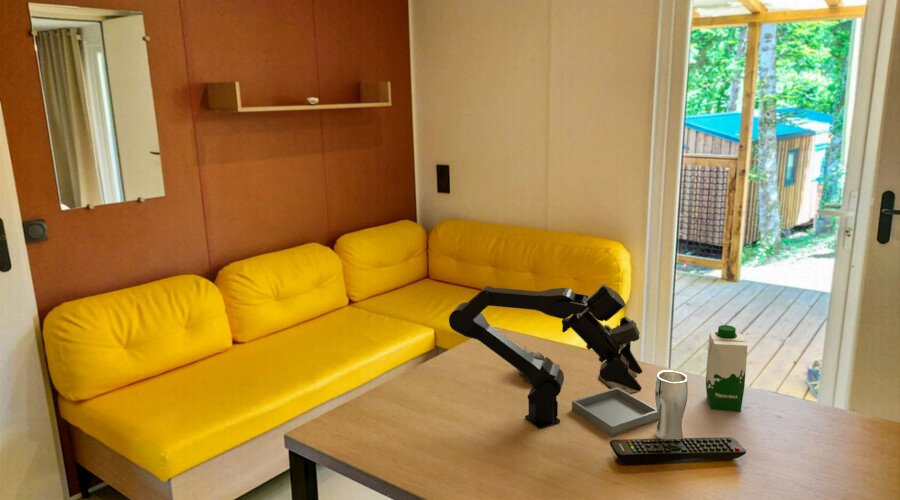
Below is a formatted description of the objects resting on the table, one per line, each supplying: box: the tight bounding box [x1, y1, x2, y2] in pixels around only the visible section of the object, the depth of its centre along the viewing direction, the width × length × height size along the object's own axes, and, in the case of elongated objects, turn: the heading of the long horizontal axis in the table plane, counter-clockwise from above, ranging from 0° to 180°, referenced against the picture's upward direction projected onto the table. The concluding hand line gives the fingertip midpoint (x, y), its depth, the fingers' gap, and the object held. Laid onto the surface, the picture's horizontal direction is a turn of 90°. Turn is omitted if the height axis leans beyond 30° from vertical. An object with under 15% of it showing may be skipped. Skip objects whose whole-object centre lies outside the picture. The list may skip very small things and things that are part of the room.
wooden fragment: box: [597, 368, 642, 395], centre depth 180 cm, size 26×11×1 cm, turn 169°
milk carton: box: [705, 324, 748, 413], centre depth 159 cm, size 9×9×20 cm
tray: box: [571, 387, 658, 437], centre depth 158 cm, size 15×15×2 cm
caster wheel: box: [518, 345, 545, 383], centre depth 180 cm, size 7×11×10 cm
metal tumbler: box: [654, 370, 689, 440], centre depth 146 cm, size 7×7×15 cm
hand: (640, 381), depth 147 cm, fingers open, 9 cm apart
